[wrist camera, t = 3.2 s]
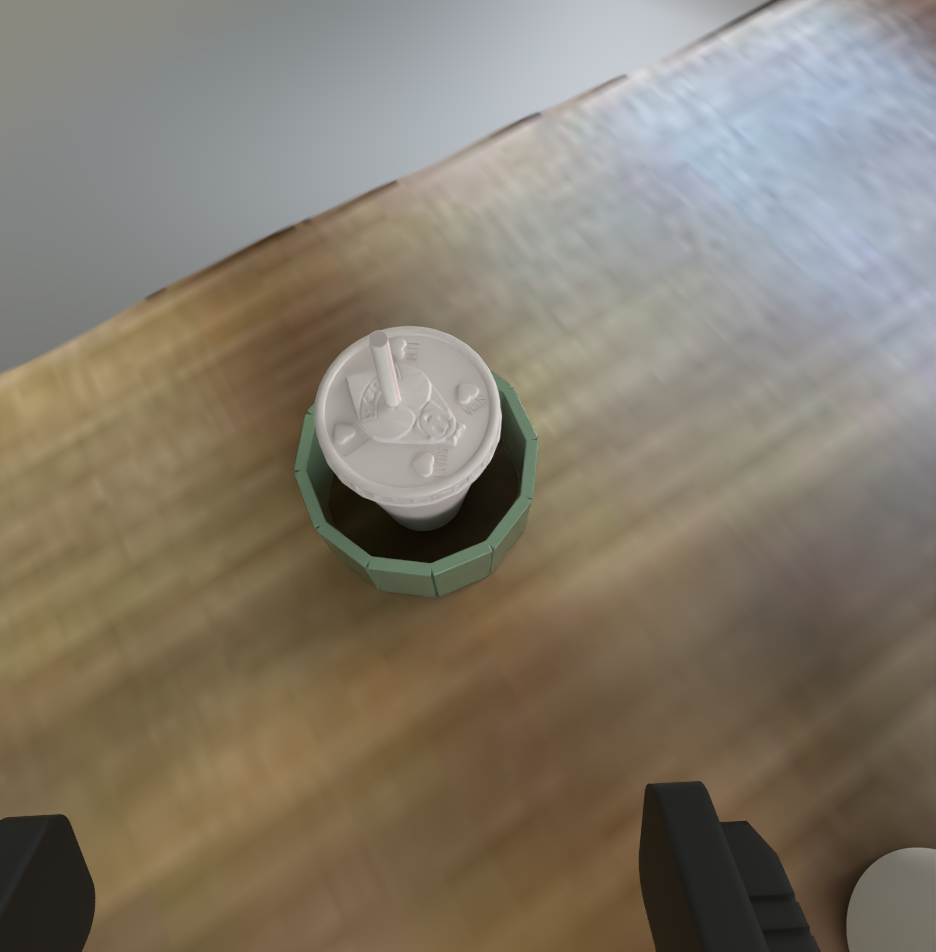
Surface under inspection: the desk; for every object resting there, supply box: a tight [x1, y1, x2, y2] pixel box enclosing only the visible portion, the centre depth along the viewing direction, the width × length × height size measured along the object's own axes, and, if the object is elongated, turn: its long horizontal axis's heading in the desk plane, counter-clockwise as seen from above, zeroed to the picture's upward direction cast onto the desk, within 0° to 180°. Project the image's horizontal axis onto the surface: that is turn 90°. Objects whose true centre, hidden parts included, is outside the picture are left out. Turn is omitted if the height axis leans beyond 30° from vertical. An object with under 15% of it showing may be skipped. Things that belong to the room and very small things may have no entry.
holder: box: [294, 370, 539, 597], centre depth 33 cm, size 9×9×5 cm
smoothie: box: [314, 326, 502, 531], centre depth 28 cm, size 6×6×14 cm
